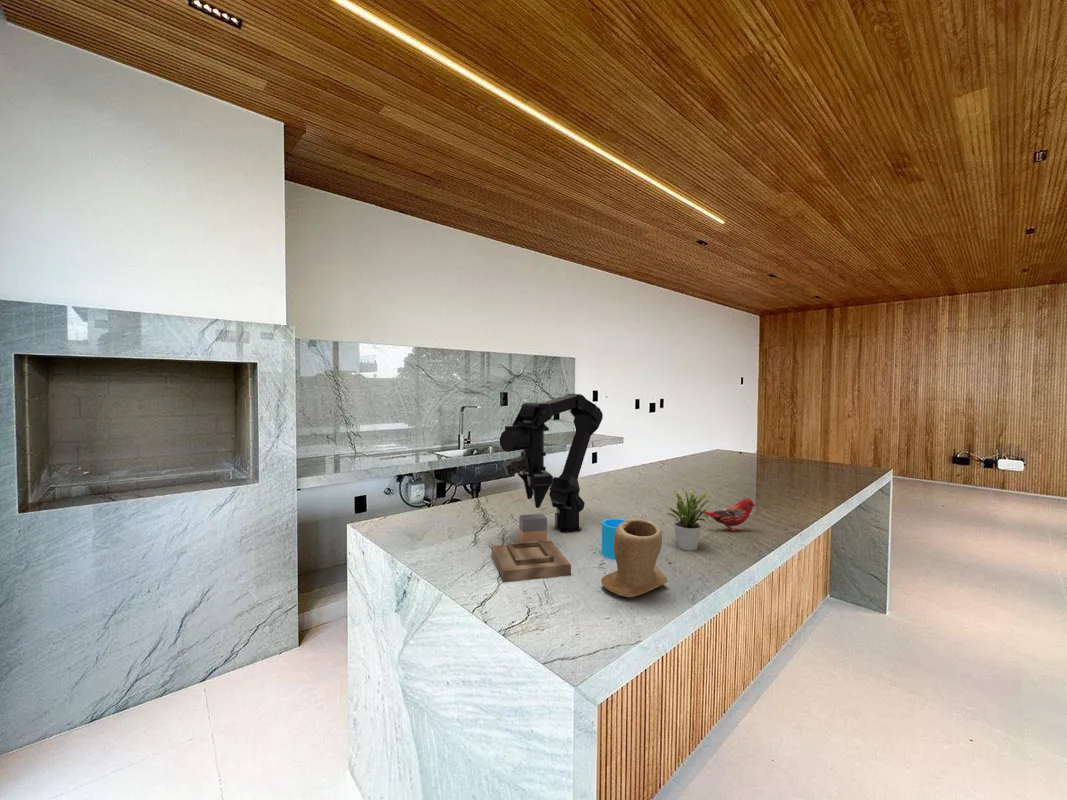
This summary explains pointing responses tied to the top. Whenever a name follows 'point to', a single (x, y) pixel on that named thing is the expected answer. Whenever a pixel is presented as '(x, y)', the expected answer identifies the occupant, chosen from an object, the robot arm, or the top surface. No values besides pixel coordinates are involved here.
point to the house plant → (688, 521)
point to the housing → (532, 527)
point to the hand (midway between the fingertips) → (533, 503)
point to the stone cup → (635, 559)
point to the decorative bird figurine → (733, 514)
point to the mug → (609, 536)
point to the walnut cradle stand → (529, 560)
